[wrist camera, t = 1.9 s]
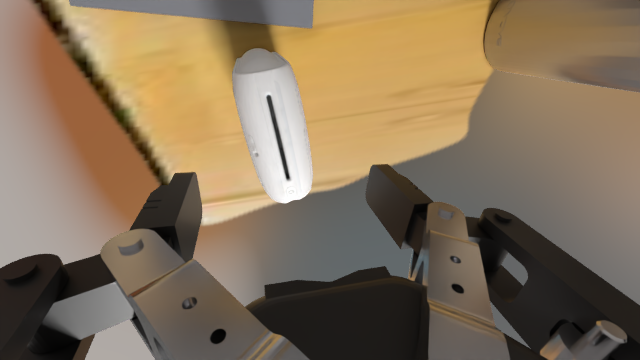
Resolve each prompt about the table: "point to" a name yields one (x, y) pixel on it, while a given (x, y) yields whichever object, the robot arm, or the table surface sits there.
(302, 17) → the dock
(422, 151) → the table surface
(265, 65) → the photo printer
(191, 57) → the table surface
